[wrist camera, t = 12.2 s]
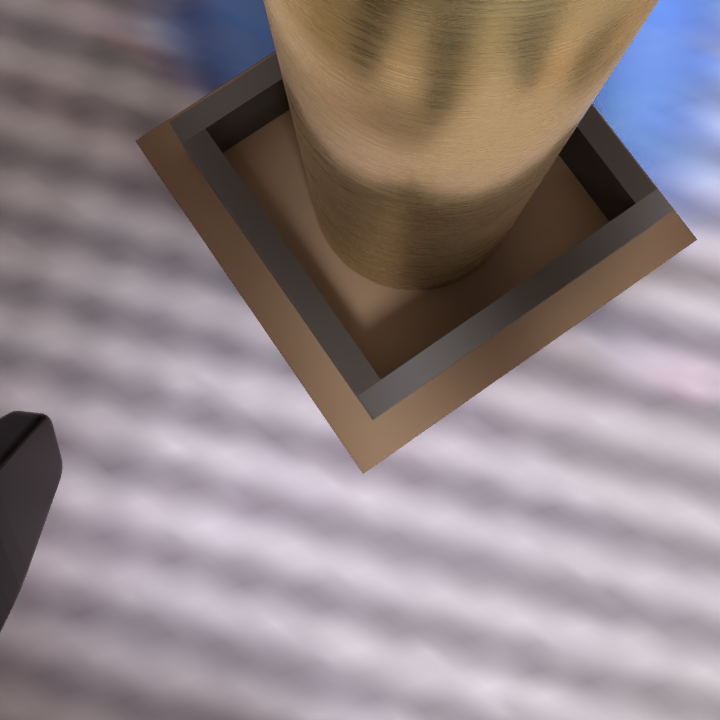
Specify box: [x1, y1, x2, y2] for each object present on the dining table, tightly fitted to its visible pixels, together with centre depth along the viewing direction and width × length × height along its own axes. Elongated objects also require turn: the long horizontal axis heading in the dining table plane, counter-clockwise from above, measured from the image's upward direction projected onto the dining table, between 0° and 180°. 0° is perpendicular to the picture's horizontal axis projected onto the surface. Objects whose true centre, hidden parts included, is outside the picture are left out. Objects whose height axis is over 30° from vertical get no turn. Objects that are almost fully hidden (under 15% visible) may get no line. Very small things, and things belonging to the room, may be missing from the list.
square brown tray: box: [136, 51, 697, 474], centre depth 17 cm, size 10×10×2 cm
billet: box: [264, 0, 659, 291], centre depth 11 cm, size 5×5×13 cm
